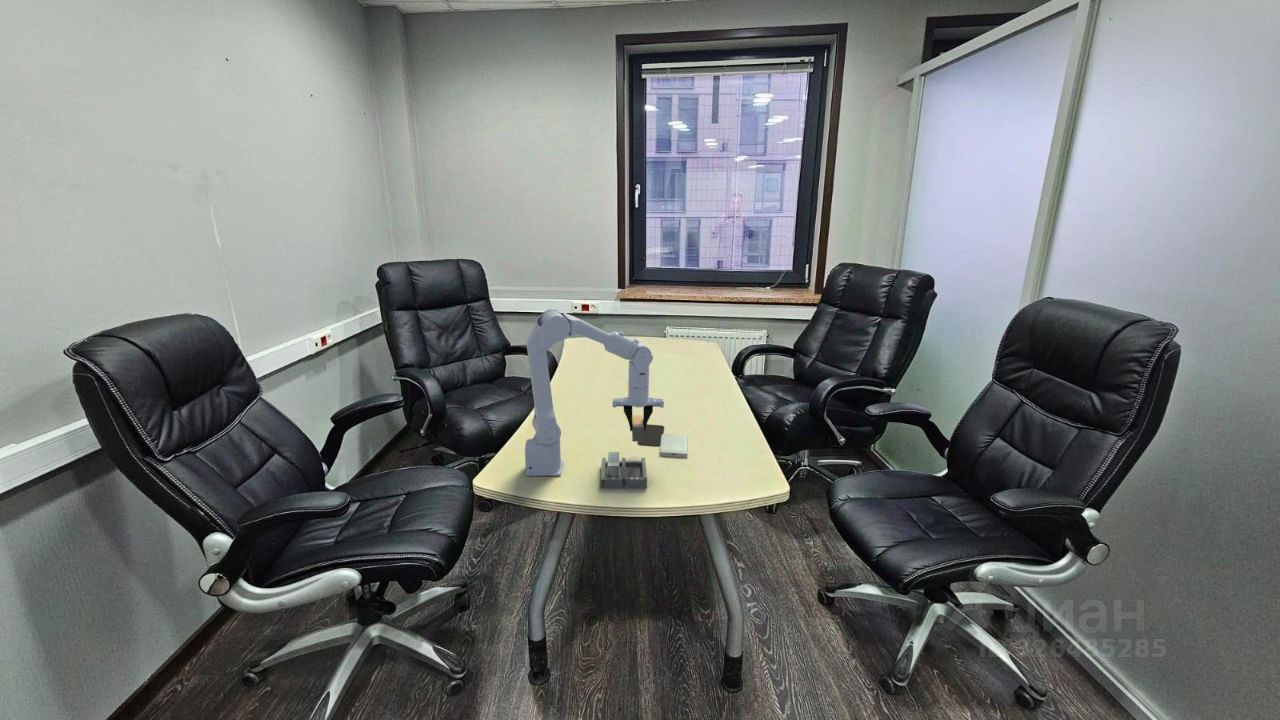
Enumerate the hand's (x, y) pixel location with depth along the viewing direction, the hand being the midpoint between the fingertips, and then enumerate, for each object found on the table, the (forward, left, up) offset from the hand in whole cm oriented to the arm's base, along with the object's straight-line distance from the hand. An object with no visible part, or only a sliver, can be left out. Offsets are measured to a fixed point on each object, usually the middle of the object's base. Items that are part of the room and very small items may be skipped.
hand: (637, 429), depth 151 cm
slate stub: (-7, -11, -8) cm, 15 cm away
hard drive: (+11, +6, -9) cm, 16 cm away
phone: (+5, +14, -9) cm, 18 cm away
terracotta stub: (0, 0, -2) cm, 2 cm away
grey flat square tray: (-4, -12, -8) cm, 15 cm away
